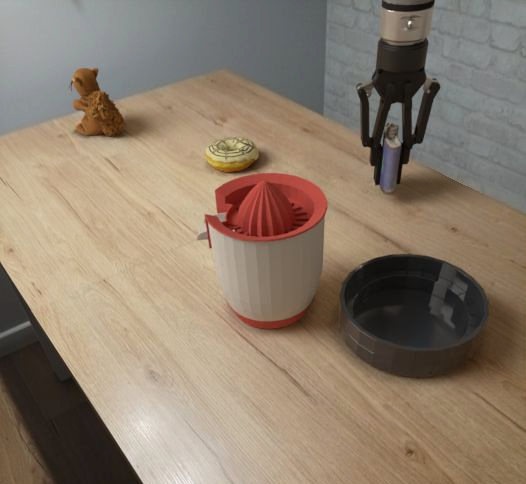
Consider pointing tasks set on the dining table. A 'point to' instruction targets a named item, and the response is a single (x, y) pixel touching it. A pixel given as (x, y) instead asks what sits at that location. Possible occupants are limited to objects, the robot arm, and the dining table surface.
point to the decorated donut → (231, 154)
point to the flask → (390, 159)
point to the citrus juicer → (267, 246)
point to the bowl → (412, 314)
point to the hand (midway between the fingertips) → (386, 180)
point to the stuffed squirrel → (95, 106)
